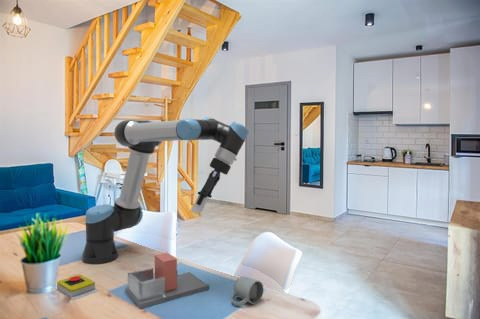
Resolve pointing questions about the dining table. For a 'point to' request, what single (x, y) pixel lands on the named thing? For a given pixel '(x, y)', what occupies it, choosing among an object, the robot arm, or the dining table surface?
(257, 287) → the ceramic mug
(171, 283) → the pink box with dome
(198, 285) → the stand board
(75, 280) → the emergency button
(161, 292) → the grey box holder bracket
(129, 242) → the dining table surface
